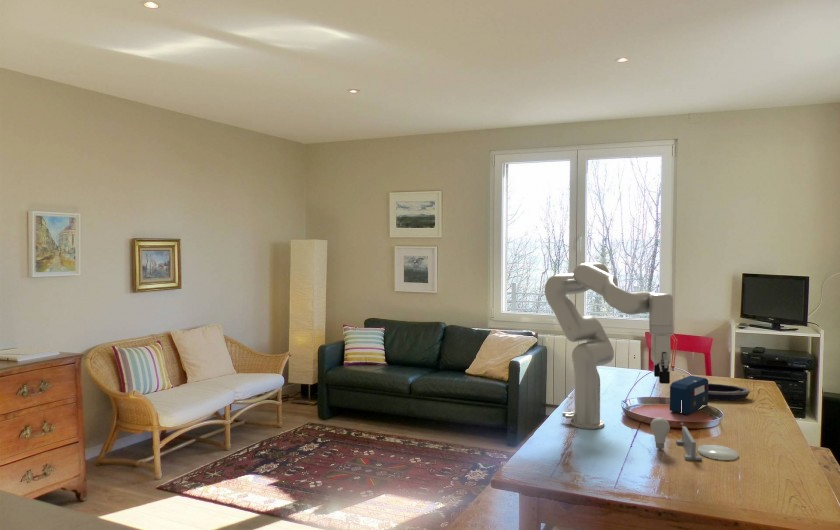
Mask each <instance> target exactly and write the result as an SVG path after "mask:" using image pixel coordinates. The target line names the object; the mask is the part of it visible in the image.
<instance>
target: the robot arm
mask: <svg viewBox="0 0 840 530" xmlns="http://www.w3.org/2000/svg"><path fill="white" fill-rule="evenodd" d="M618 283H619V282H618V279H617V277H616V276H615V275H613V274H611V273H609V268H608V267H607V266H606V265H605V264H604V263H601V262H597V261H595V262H584V263H580V264H578V265H576V266H575V267H574V269H573V272H569V273H568V272H567V273H557V274H554V275H551V276H550V277H549V278H548V279H547V280H546V282H545V284H544V285H545V286H544V296H545V300H546V301H547V303H548V305H549V306H550V308H551V309H552V311H553V313H554V315H555V317H556V320H557V321H558V324H559V325H560V328H561V330H562V332H563V333H564V336H565V337H566V339H567V340H568V341H569V342H572V343H577V342H580V344H577V345H576V346H574V348H573V350H572V353H571V359H572V364H573V373H574V409H573V411H570V412H567V411H562V417H563V418H565V419H570V421H569V422H570V424H571V426H574V427H576V428H579V429H586V430H597V429H601V428H604V427H605V421H604V420H602V419H601V376H600V373H599V371H598V368H597V367H599V366H605V365H607V364H609V363H611V362H612V361H613V359H614V357H615V356H614V355H615V350H614V347H613V345H612V342H611V341H610V339H609V337H608V335H607V333H606V331H605V330H604V326H602V324H601V323H600V321H599V320H598V319H597V318H596V317H595V316H592V315H583V316H582V315H581V314H580V313H579V311H578V309H577V307H576V305H575V304H574V303H573V301H572V300H571V299H570V298H568V296H567V295H577V294H581V293H585V292H587V291H589V290H591V291H593V292H594V293H596V294H598V295H601V296H602V298H603V300H604V302H606V304H607V305H608V306H610V307H612V308H613V309H615V310H617V311H618V312H621V313H624V314H626V315H631V316H632V315H633V316H634V315H639V314H647V313H648V314H649V315H648V316H649V317H648V320H649V322H648V324H649V326H648V328H649V330H648V331H649V335H651V340H650V341H651V344H650V346H651V347H650V360H651V361H652V362H653V364H654V365H653V368H654V369H653V375H654V378H658V380H659V381H658V382H659V384H663V385H664V384H665V385H666V384H667V385H668V384H671V378H670V377H671V376H670V374H671V371H670V364H671V360H672V359H671V356H672V355H671V351H672V350H671V336H673V335H674V298H673V295H672V294H670V293H665V292H657V293H656V292H653V291H649V290H648V291H643V290H642V291H634V292H629V291H626V290H625V289H623V288H620V287H618ZM585 341H586V342H585ZM581 342H583V343H581Z"/></svg>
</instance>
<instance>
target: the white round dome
mask: <svg viewBox="0 0 840 530" xmlns="http://www.w3.org/2000/svg"><path fill="white" fill-rule="evenodd" d="M698 452H699V453H700V454H699V453H698ZM697 453H698V454H699V455H700V456H702V455H703V456H702V457H704V456H705V458H707V457H708V458H707V459H711V458H712V459H711V460H715V459H718V460H717V461H723V460H730V461H735V460H737V459H738V458H739V453H738V452H737V451H736V450H734V449H733V448H730V447H727V446H724V445H719V444H703V445H700V446H698V447H697ZM736 458H737V459H736ZM734 459H735V460H734Z"/></svg>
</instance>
